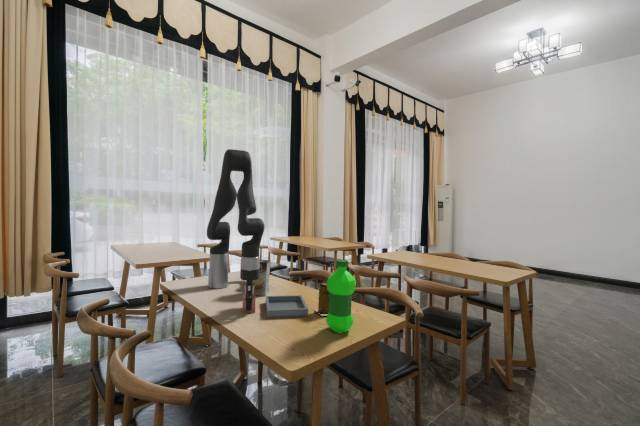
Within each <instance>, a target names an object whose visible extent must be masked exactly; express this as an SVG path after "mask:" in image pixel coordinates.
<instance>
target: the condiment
mask: <svg viewBox="0 0 640 426" xmlns="http://www.w3.org/2000/svg"><path fill="white" fill-rule="evenodd" d="M319 286H320V287H319V290H318V308H317V309H314V310H313V311H314V312H315V311H316V312H318V313H320V314H328V313H329V306H330V292H329V291H328V290H327V281H325V282H323V281H322V282H320V285H319ZM316 312H315V313H316ZM318 313H317V314H318ZM320 314H318V315H319V316H320ZM321 317H322V318H324V317H323V316H321Z"/></svg>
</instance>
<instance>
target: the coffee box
mask: <svg viewBox="0 0 640 426" xmlns="http://www.w3.org/2000/svg"><path fill="white" fill-rule="evenodd" d="M259 260H260V267H259V279H257V280H253V283H254V282H255V285H254V294H256V296H263V297H266V296H268V293H269V292H270V290H269V289H270V277H269V273H270V269H271V268H270V267H271V261H270V260H269V259H268V260H267V259H259Z"/></svg>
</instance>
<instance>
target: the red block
mask: <svg viewBox="0 0 640 426" xmlns="http://www.w3.org/2000/svg"><path fill="white" fill-rule="evenodd" d="M256 296H257V295H256V294H254V295H253V296H252V299H253V300H252V310H251V311H246V300H245V299H246V296H245V294H243V295H242V311H241V312H242V314H255V313H256ZM247 298H251V296H247Z"/></svg>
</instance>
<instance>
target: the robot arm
mask: <svg viewBox="0 0 640 426" xmlns="http://www.w3.org/2000/svg"><path fill="white" fill-rule="evenodd" d="M223 155H224V156H223V159H222V168H221V172H220V173H221V174H220V179H219V183H218V185H217V191H216V195H215V197H214V203H213V209H212V211H211V212H212V213H211V216H210V218H209V221H208V224H207V228H206V237H207V239H208V240H210V241H220V242H219V243H218V244H216V245H212V246H211V247H210V248H209V268H208V280H207V281H208V283H207V284H208V285H207V288H209V289H224V288H227V287H229V259H230V258H229V254H230V253H229V250H230V239H231V238H230V237H231V225H230V223H229V222H228V221H221V220H222V219H223V218H224V217H225V216H226V215H228V214H229V213H230V212H231V211H232V210H233V209H234V207H235V204H236V201H237V208H238V221H237V232H238V233H239V234H240V236H242V237H243V236H244V237H246V236H247V237H248V236H251V238H250V240H247V241H244V242H242V244H241V258H240V270H239V271H240V274H239V275H240V277H239V278H240V280H242V281H245V282H244V287H243V288H244V295H245V296H246V299H245V300H246V311H251V310H252V300H253V299H252V296H253V295H254V285H255V282H254V283H253V280H257V279H259V267H260V260H261V259H260V246H261V242H262V238H263V235H264V232H265V223H264V220H263V219H262V218H258V217H256V218H255V217H250V218H249V217H248V216H251V215H254V214H255V213H256V212H257V204H256V198H255V195H254V189H253V188H254V187H253V184H254V183H253V165H252V157H251V155H250V153H249V151H246V150H240V149H231V148H229V149H226V151H225V153H223ZM232 172H242V173H243V179H242V182H241V184H240V185H239V188H238V190H237V189H236V187H235V185H234V183H233V181H232V178H231V176H232V175H231V174H232ZM247 296H251V298H247Z"/></svg>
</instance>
